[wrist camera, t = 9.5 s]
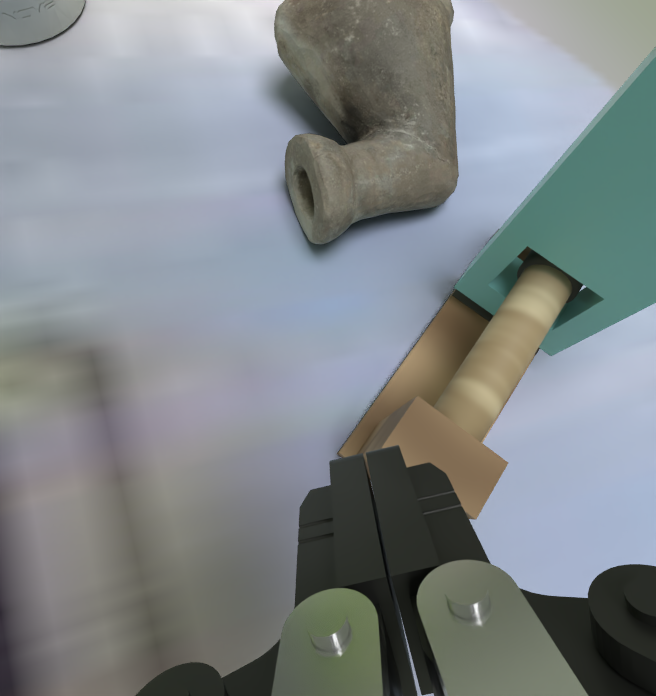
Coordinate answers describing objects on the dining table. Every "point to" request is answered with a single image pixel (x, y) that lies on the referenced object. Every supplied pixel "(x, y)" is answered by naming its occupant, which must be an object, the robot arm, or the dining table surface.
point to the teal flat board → (588, 221)
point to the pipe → (370, 108)
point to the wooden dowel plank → (465, 381)
